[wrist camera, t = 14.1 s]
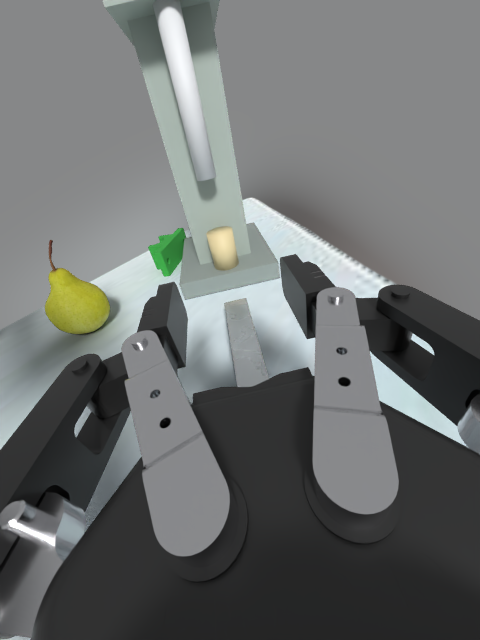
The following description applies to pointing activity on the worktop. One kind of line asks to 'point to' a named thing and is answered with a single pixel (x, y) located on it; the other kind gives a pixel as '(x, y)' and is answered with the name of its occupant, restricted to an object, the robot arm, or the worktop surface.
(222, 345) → the worktop surface
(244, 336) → the lever bar
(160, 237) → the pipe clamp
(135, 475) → the robot arm
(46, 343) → the worktop surface
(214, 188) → the post
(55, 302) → the fruit
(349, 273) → the worktop surface
